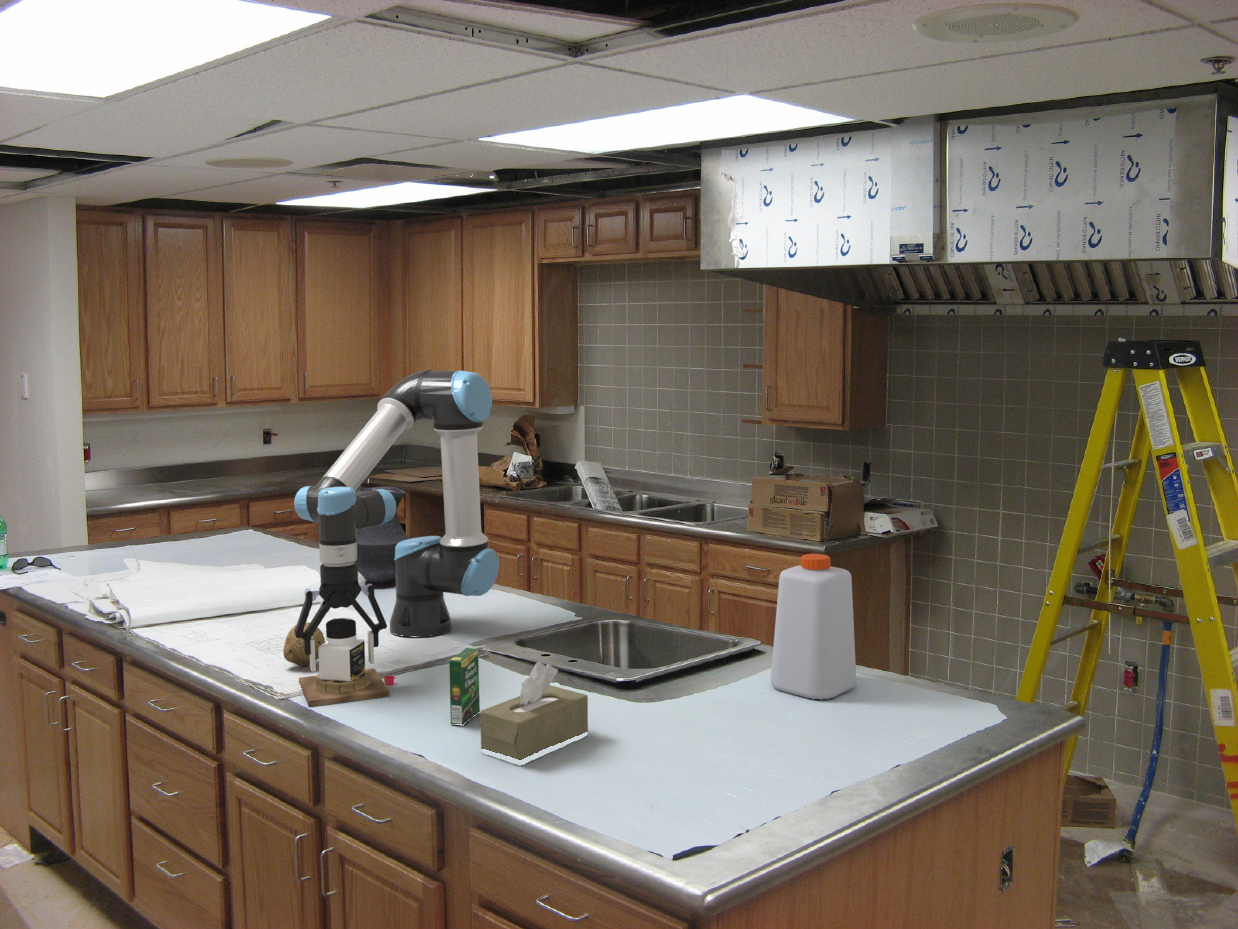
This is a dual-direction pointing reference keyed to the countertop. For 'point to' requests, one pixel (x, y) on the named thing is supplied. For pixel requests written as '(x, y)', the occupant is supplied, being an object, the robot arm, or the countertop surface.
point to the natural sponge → (301, 647)
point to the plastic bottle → (814, 630)
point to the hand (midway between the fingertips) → (342, 666)
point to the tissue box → (534, 717)
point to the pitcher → (380, 546)
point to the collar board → (343, 689)
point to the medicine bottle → (341, 652)
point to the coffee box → (464, 686)
